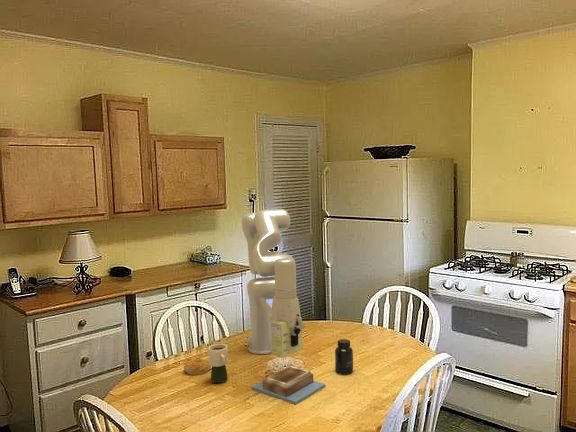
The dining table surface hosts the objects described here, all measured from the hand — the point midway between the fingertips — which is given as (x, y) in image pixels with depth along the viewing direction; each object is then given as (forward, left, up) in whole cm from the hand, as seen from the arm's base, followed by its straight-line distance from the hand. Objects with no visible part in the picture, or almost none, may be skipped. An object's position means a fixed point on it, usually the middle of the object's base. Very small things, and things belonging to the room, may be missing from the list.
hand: (287, 343), depth 176 cm
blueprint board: (0, 0, -16) cm, 16 cm away
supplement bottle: (+8, +24, -17) cm, 30 cm away
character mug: (-25, -10, -17) cm, 32 cm away
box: (0, 0, -3) cm, 3 cm away
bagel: (-40, -8, -17) cm, 44 cm away
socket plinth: (0, 0, -16) cm, 16 cm away
